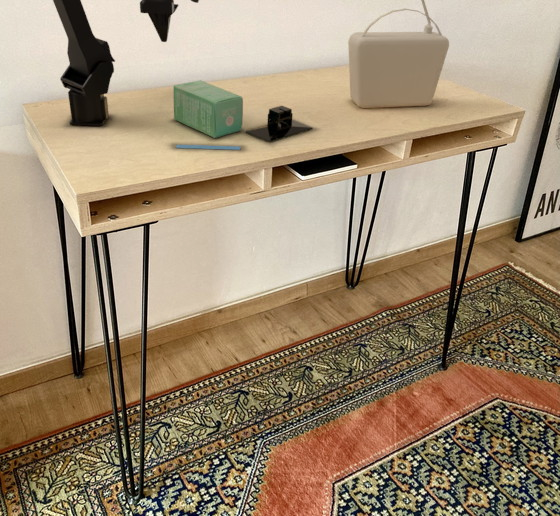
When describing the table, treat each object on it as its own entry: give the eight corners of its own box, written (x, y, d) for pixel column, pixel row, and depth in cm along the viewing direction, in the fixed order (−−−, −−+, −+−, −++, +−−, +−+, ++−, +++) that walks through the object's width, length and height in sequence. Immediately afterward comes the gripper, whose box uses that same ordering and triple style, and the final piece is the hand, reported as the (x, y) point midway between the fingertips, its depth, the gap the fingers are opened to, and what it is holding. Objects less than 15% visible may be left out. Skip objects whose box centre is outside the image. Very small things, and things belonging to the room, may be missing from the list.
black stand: (269, 143, 121) (269, 120, 119) (244, 132, 125) (244, 110, 123) (312, 129, 129) (314, 107, 126) (287, 119, 133) (288, 98, 130)
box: (215, 139, 121) (215, 101, 117) (173, 121, 129) (171, 85, 125) (243, 131, 126) (244, 94, 122) (201, 114, 134) (200, 79, 130)
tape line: (175, 148, 117) (175, 147, 117) (176, 145, 118) (176, 144, 118) (240, 149, 117) (240, 149, 117) (240, 146, 119) (240, 146, 119)
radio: (424, 95, 152) (443, -16, 139) (440, 106, 145) (461, -10, 132) (339, 98, 147) (350, -17, 134) (351, 109, 140) (363, -10, 127)
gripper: (196, -32, 117) (198, 53, 125) (204, -43, 133) (205, 33, 141) (136, -34, 117) (142, 51, 125) (151, -46, 133) (155, 31, 141)
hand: (164, 41), depth 133 cm, fingers closed
